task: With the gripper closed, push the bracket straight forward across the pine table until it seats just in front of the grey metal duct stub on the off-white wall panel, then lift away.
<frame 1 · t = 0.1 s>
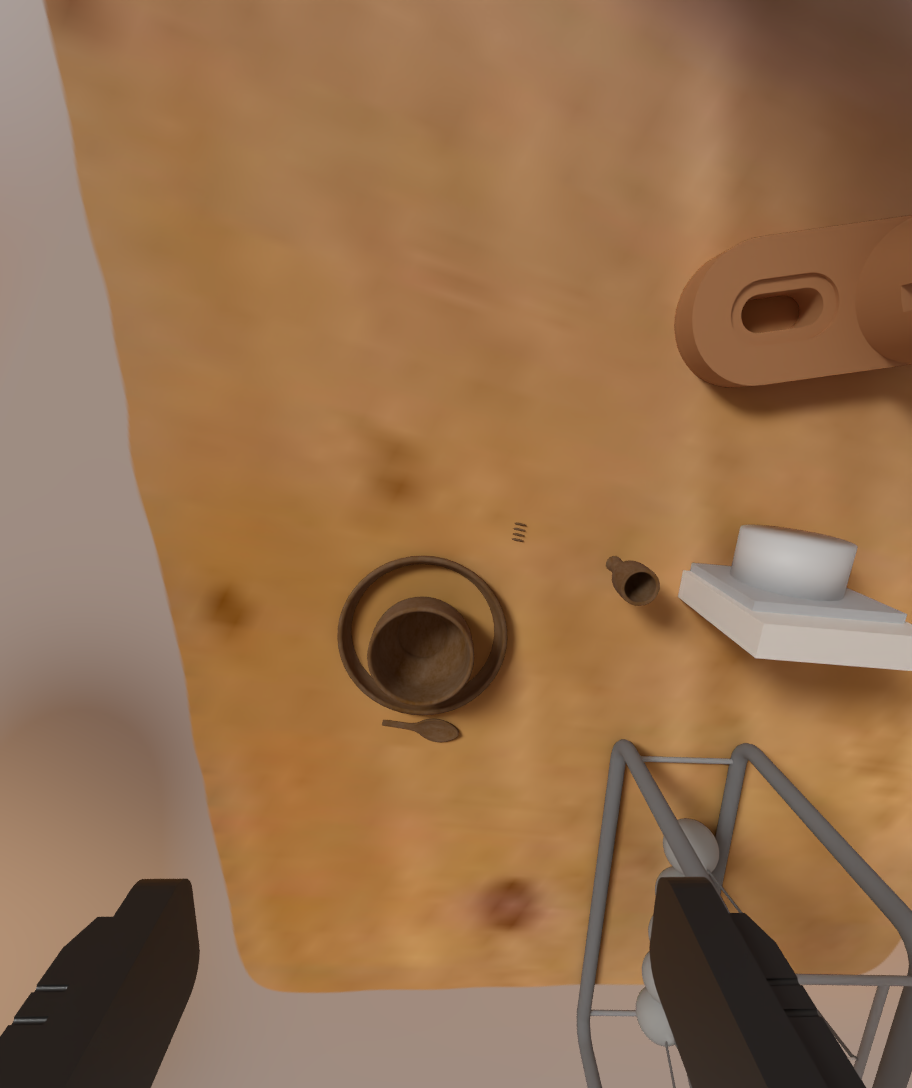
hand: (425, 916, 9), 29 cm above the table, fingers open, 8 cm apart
bracket: (810, 310, 35), on the table
place setting: (478, 632, 40), on the table
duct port: (748, 589, 39), on the table
newton's cradle: (652, 887, 46), on the table
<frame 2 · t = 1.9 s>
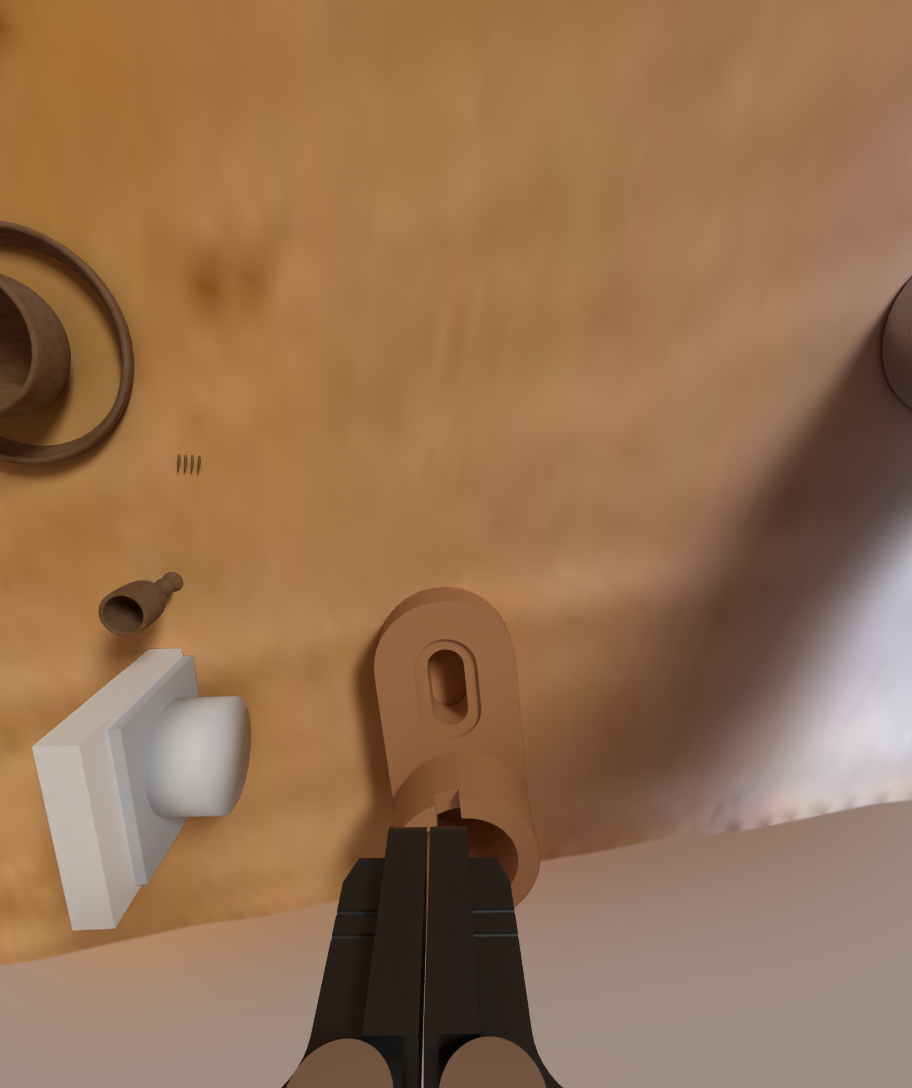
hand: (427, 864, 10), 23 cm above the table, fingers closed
bracket: (452, 715, 36), on the table
place setting: (47, 427, 31), on the table
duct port: (176, 721, 35), on the table
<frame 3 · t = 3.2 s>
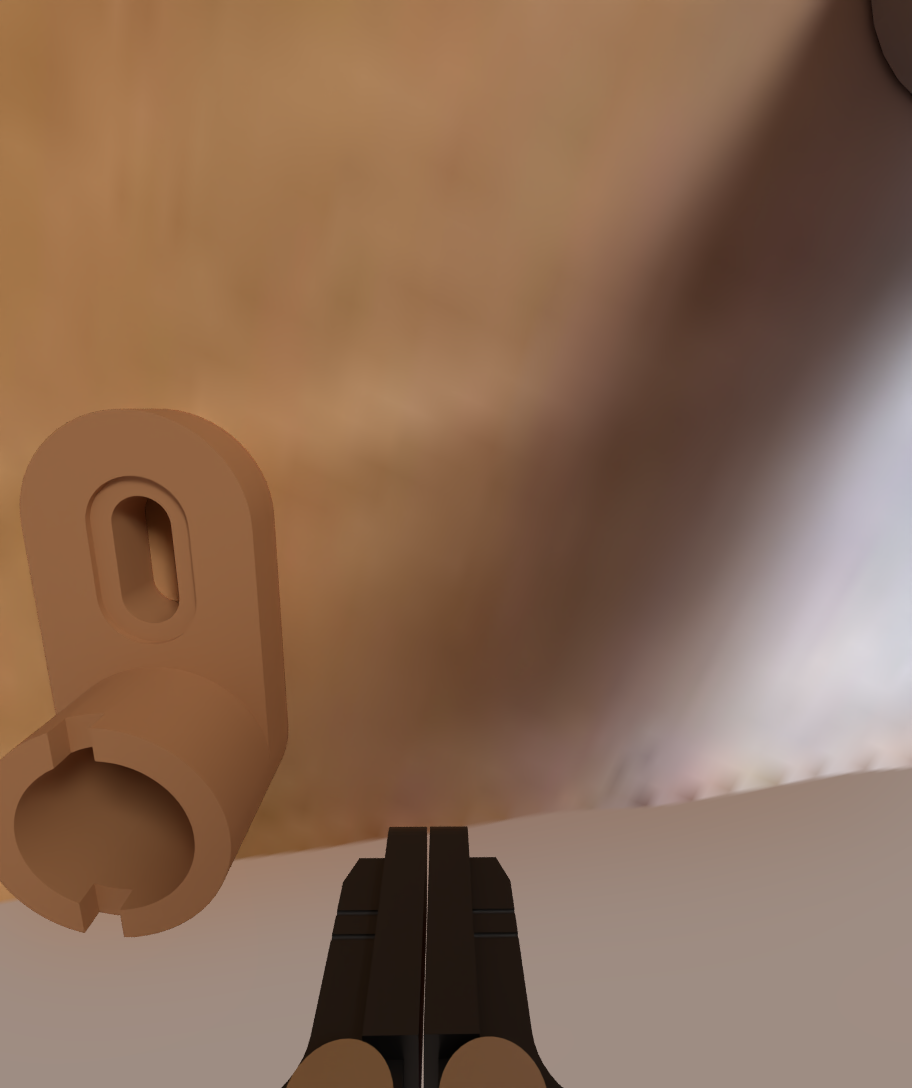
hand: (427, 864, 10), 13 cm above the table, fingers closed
bracket: (188, 620, 24), on the table
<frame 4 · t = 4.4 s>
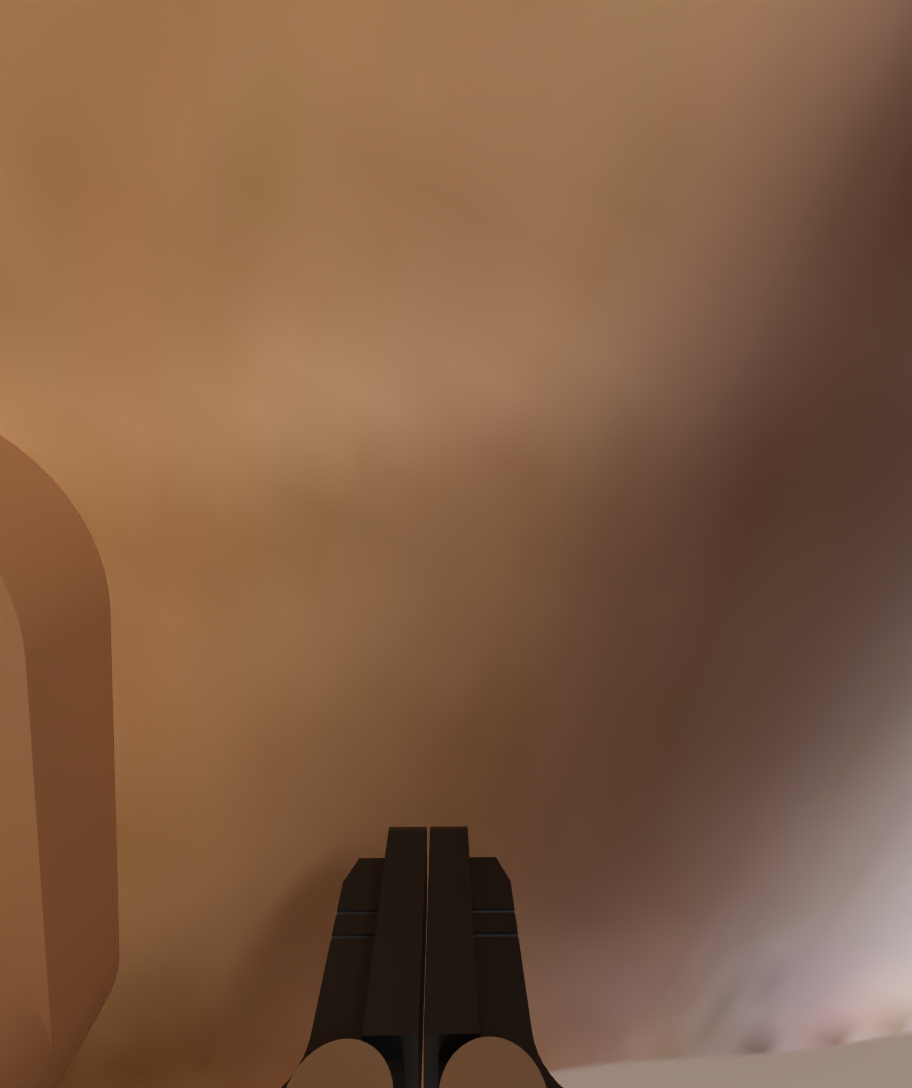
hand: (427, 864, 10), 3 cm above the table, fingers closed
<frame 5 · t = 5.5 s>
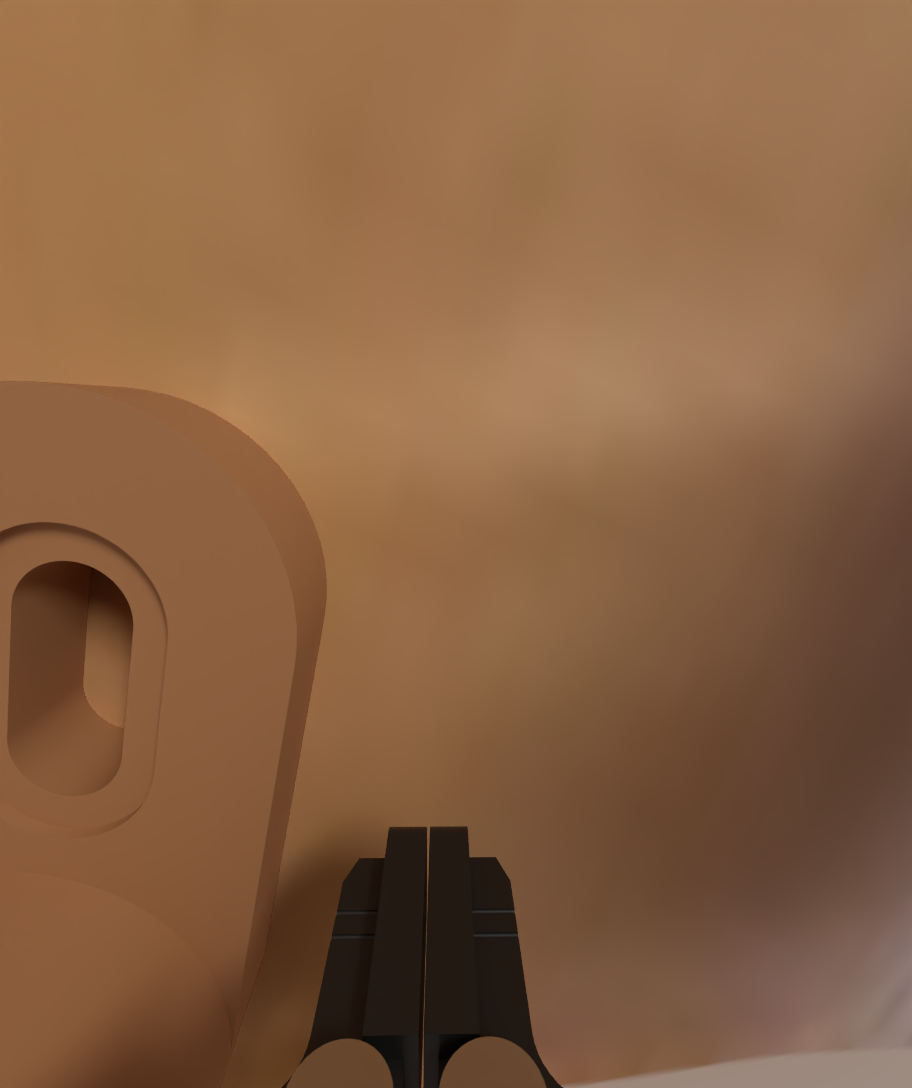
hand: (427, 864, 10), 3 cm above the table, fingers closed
bracket: (132, 754, 14), on the table
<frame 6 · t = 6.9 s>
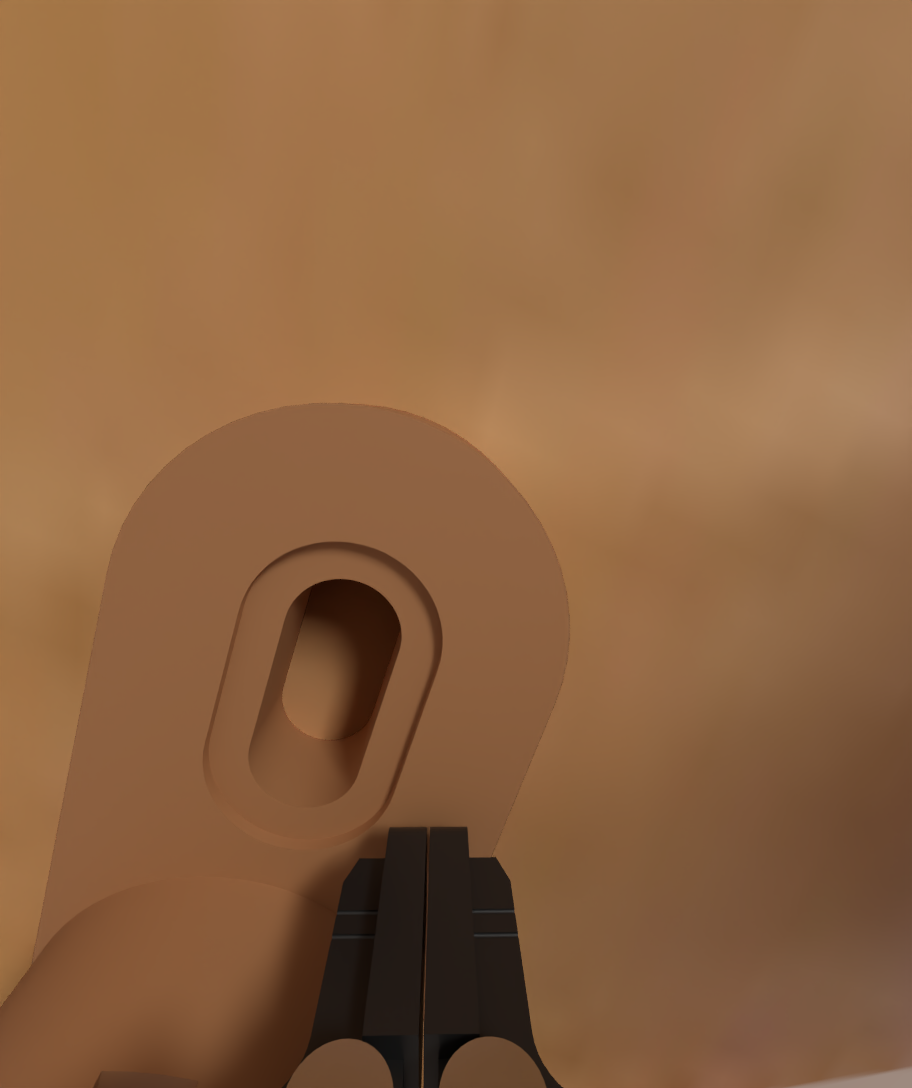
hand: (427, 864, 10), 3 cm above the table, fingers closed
bracket: (309, 762, 14), on the table
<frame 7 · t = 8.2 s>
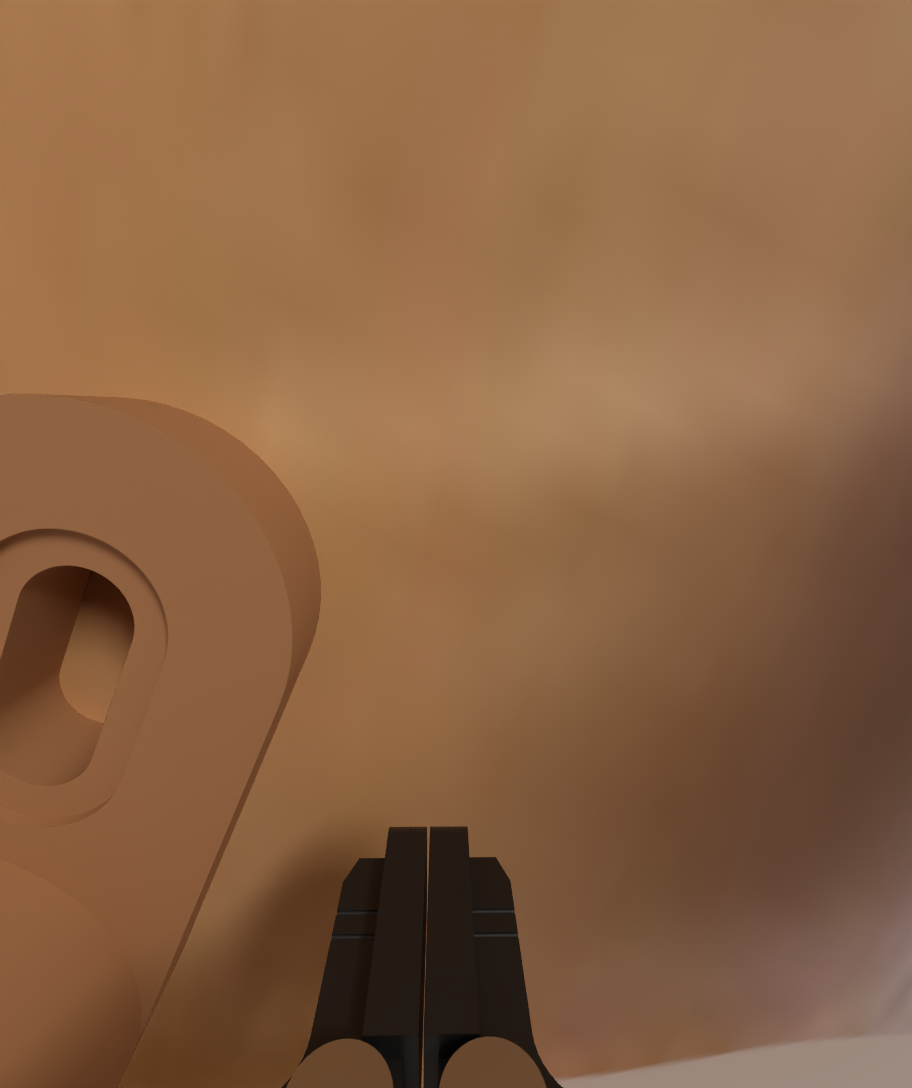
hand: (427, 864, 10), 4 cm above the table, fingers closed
bracket: (92, 743, 14), on the table
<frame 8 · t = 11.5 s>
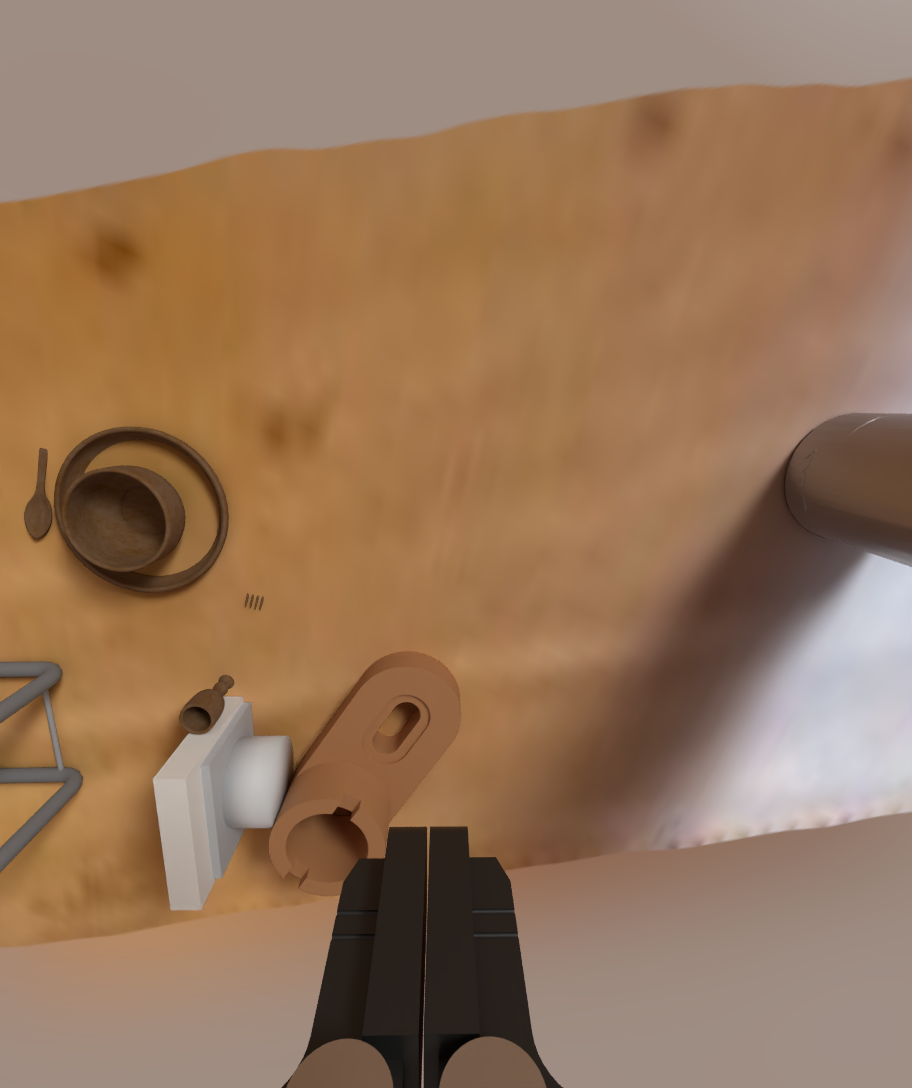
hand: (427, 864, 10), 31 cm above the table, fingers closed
bracket: (375, 740, 45), on the table
place setting: (153, 559, 41), on the table
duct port: (235, 751, 45), on the table
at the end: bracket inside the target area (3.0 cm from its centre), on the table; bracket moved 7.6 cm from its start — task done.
